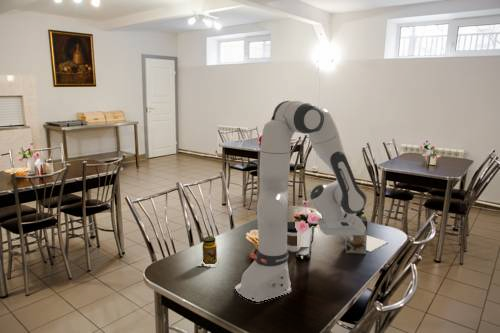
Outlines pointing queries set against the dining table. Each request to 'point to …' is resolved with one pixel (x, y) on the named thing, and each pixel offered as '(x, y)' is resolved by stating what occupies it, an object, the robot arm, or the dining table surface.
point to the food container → (313, 232)
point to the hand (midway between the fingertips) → (350, 239)
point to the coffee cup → (291, 237)
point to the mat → (374, 243)
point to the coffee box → (357, 241)
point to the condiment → (209, 250)
